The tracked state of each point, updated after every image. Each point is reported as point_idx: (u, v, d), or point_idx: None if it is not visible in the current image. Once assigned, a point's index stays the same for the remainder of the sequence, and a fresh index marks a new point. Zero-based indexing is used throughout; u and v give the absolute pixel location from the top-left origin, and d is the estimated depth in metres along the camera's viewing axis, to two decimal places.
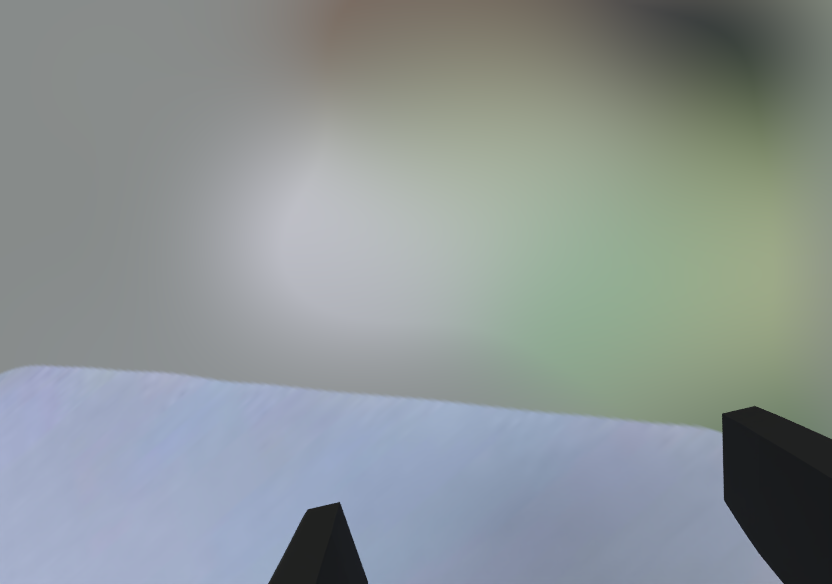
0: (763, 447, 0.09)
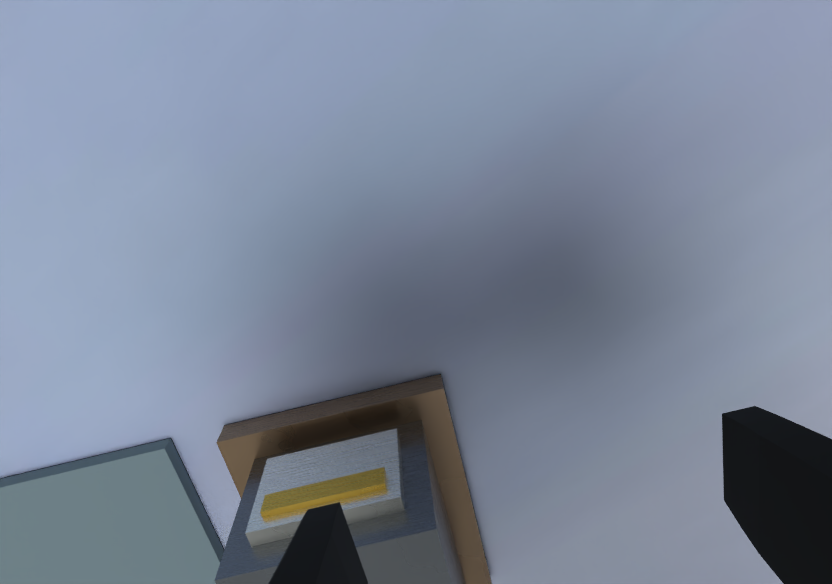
0: (763, 447, 0.09)
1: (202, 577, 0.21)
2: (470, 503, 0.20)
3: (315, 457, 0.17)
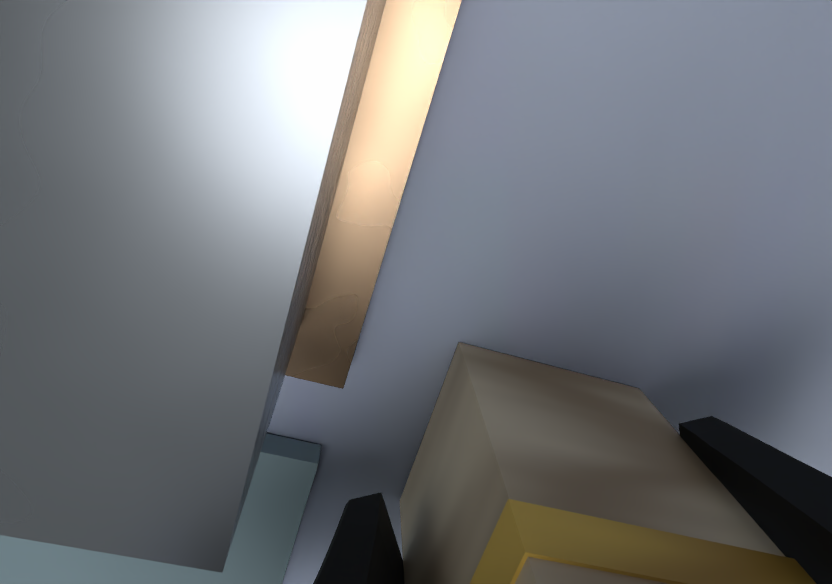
0: (715, 458, 0.09)
1: None
2: None
3: None
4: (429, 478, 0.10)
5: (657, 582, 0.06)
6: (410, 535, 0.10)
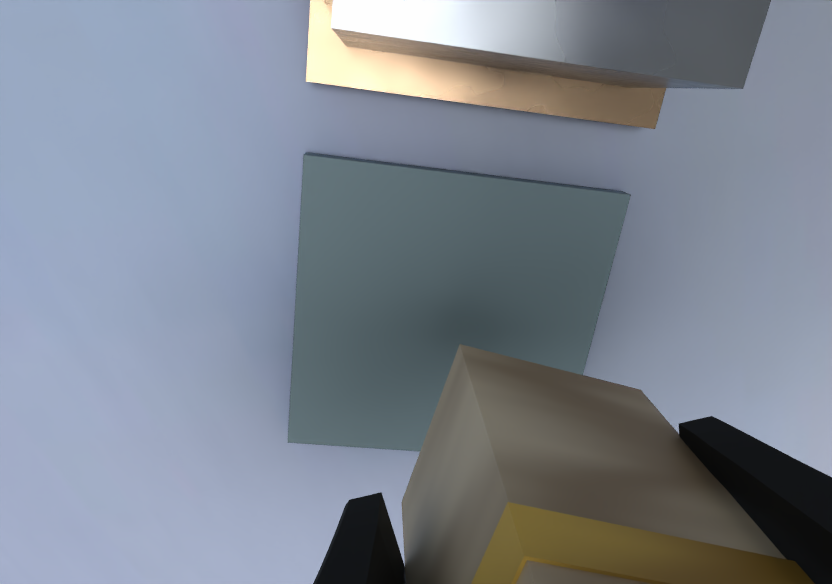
0: (715, 458, 0.09)
1: (499, 208, 0.17)
2: None
3: None
4: (430, 479, 0.10)
5: None
6: (412, 537, 0.10)
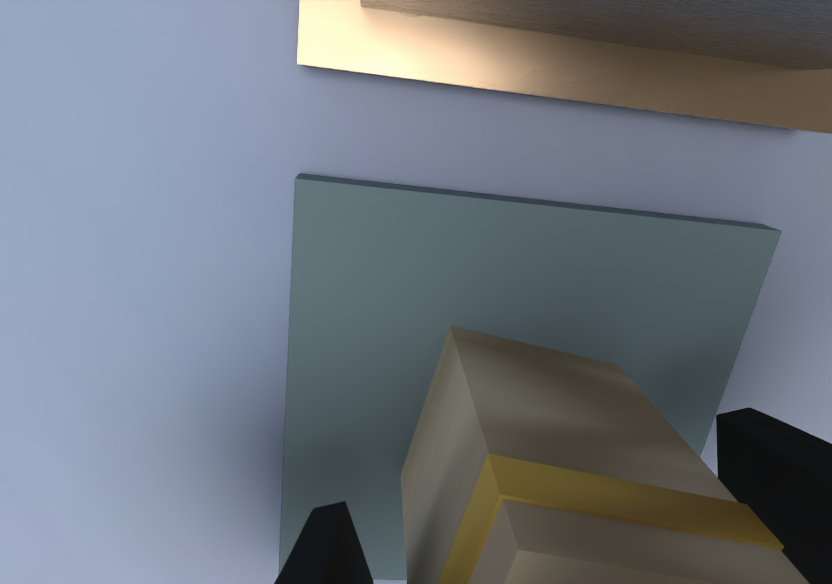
0: (757, 449, 0.09)
1: (588, 254, 0.11)
2: None
3: None
4: (425, 449, 0.11)
5: (616, 519, 0.07)
6: (409, 503, 0.11)
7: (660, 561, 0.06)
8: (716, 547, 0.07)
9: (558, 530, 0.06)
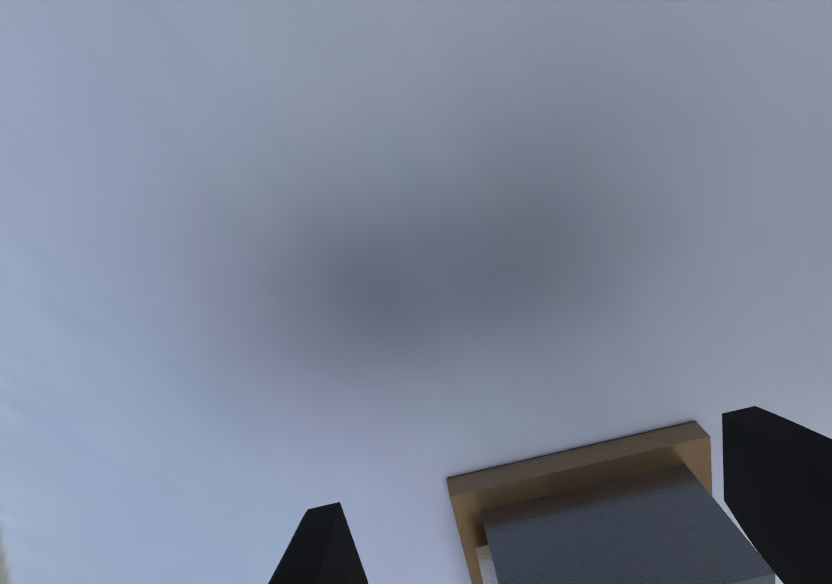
0: (763, 447, 0.09)
1: None
2: (581, 467, 0.20)
3: None
4: None
5: None
6: None
7: None
8: None
9: None
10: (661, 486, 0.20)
